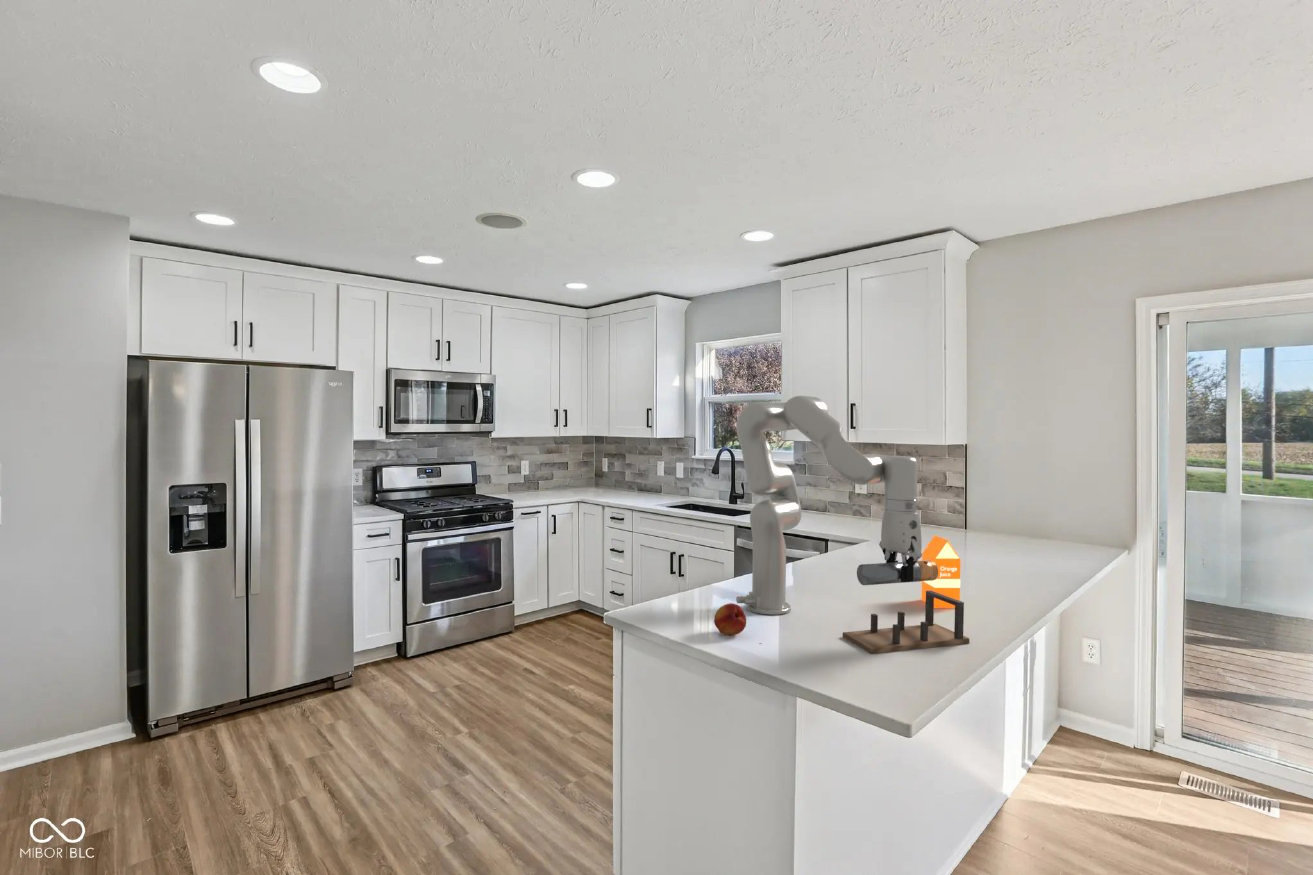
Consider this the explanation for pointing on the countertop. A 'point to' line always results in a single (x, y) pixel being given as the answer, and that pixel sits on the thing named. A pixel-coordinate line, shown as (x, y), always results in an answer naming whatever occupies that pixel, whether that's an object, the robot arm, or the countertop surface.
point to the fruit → (730, 619)
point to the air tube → (895, 572)
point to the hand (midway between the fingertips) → (899, 578)
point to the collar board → (912, 631)
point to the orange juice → (942, 571)
